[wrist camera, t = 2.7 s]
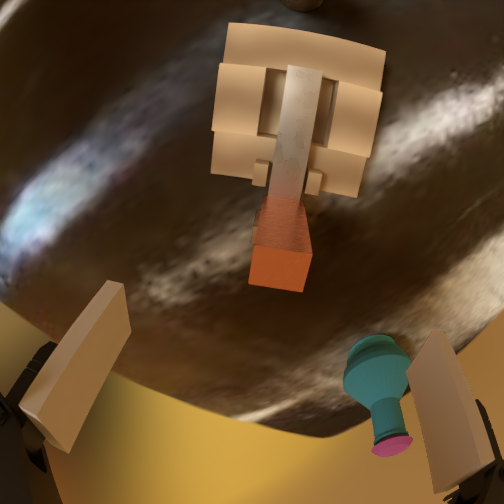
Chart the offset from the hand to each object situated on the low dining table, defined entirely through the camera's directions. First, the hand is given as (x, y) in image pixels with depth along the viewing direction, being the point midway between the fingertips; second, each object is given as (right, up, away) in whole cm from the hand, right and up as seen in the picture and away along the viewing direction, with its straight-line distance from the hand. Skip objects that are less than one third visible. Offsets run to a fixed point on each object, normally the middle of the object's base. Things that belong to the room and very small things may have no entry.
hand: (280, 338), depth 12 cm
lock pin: (+2, +11, +10) cm, 15 cm away
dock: (+2, +14, +13) cm, 19 cm away
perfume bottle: (+15, -10, +25) cm, 31 cm away
